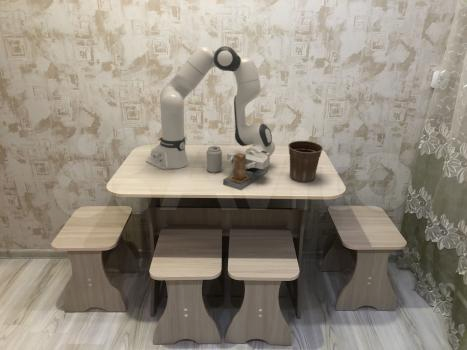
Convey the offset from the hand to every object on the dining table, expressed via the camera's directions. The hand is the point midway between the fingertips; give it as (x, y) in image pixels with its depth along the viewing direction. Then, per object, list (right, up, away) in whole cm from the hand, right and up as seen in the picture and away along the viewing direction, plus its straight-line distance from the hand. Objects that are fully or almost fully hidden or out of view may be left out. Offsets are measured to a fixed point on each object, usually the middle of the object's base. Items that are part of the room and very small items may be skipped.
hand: (238, 164), depth 181 cm
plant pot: (+31, -6, +11) cm, 34 cm away
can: (-12, -3, +17) cm, 21 cm away
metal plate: (+4, -6, +9) cm, 12 cm away
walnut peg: (0, -8, +5) cm, 10 cm away
